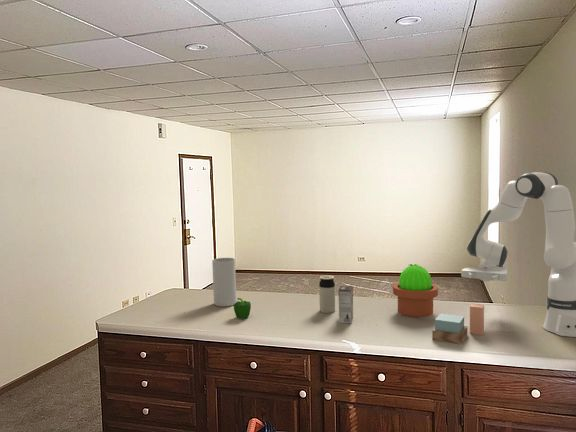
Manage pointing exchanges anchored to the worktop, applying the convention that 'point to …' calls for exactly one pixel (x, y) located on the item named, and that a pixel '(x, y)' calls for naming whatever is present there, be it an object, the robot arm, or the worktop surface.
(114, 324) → the worktop surface
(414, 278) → the potted cactus
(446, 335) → the walnut base block
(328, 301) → the travel mug
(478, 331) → the terracotta tall block
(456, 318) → the grey-teal top block
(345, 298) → the coffee box
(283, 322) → the worktop surface
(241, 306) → the bell pepper
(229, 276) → the cylinder vase
